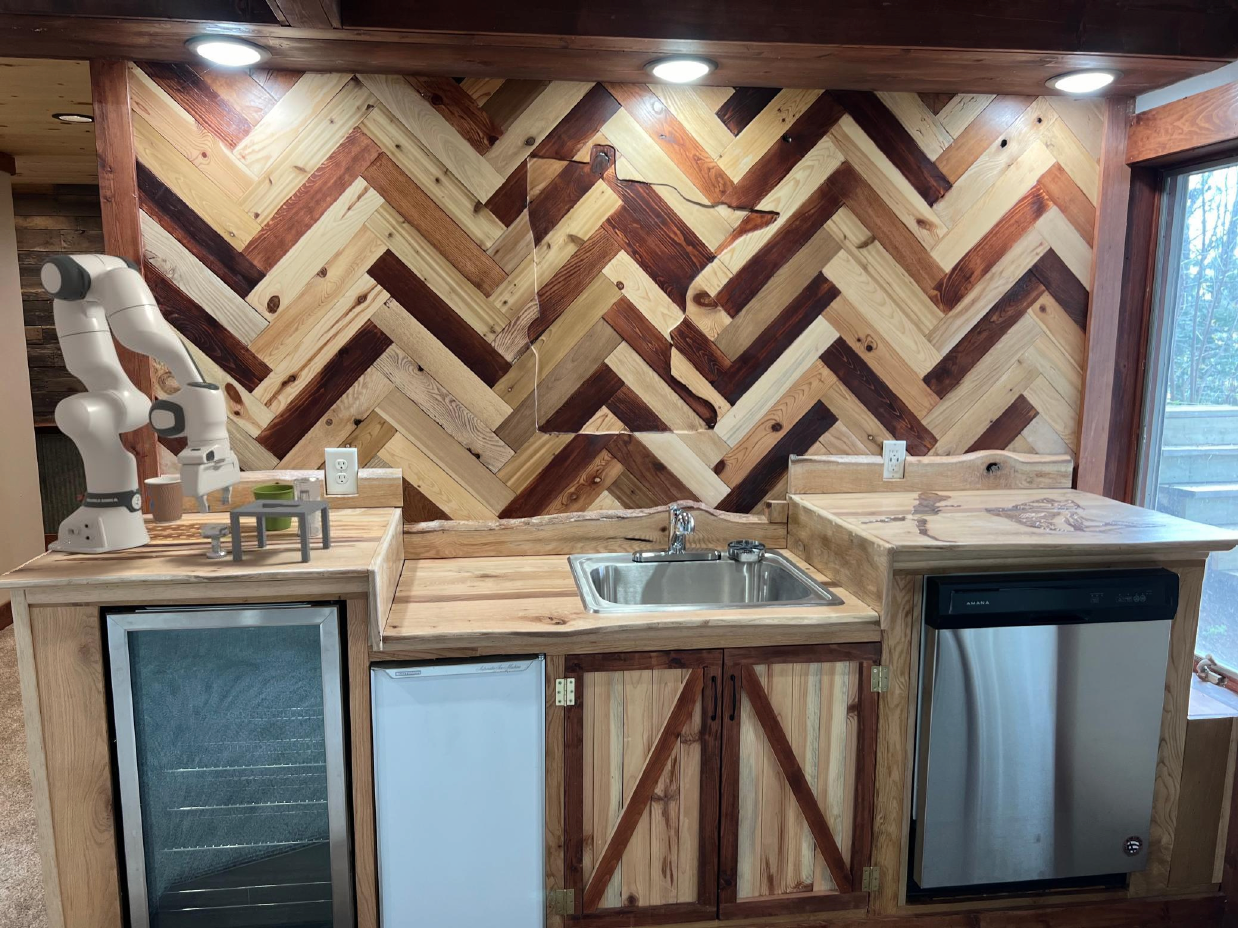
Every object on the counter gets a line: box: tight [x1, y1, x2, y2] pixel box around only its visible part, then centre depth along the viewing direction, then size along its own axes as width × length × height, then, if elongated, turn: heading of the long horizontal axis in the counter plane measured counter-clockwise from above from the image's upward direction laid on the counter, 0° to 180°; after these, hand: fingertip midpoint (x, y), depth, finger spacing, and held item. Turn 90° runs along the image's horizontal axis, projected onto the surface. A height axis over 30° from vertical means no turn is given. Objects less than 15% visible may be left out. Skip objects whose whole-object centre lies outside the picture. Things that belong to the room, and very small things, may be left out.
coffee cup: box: [144, 476, 184, 524], centre depth 241 cm, size 10×10×12 cm
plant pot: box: [250, 483, 293, 531], centre depth 232 cm, size 12×12×11 cm
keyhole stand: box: [229, 499, 332, 563], centre depth 205 cm, size 18×14×12 cm
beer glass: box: [292, 476, 322, 538], centre depth 225 cm, size 7×7×15 cm
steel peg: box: [200, 522, 230, 560], centre depth 203 cm, size 6×6×8 cm
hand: (215, 508), depth 202 cm, fingers open, 8 cm apart
